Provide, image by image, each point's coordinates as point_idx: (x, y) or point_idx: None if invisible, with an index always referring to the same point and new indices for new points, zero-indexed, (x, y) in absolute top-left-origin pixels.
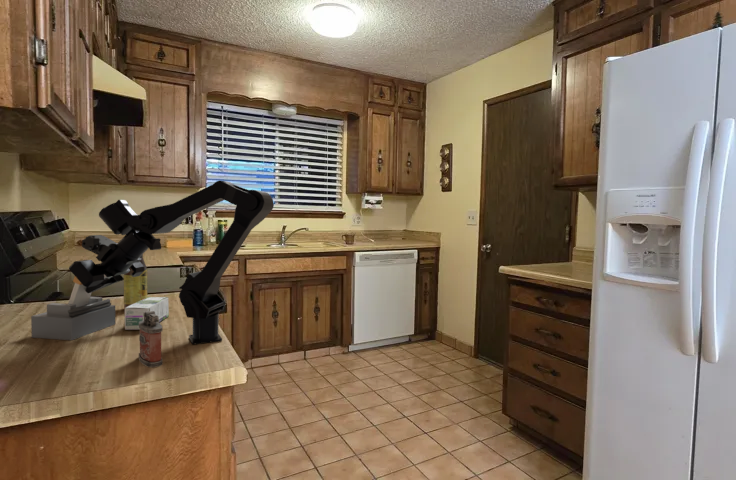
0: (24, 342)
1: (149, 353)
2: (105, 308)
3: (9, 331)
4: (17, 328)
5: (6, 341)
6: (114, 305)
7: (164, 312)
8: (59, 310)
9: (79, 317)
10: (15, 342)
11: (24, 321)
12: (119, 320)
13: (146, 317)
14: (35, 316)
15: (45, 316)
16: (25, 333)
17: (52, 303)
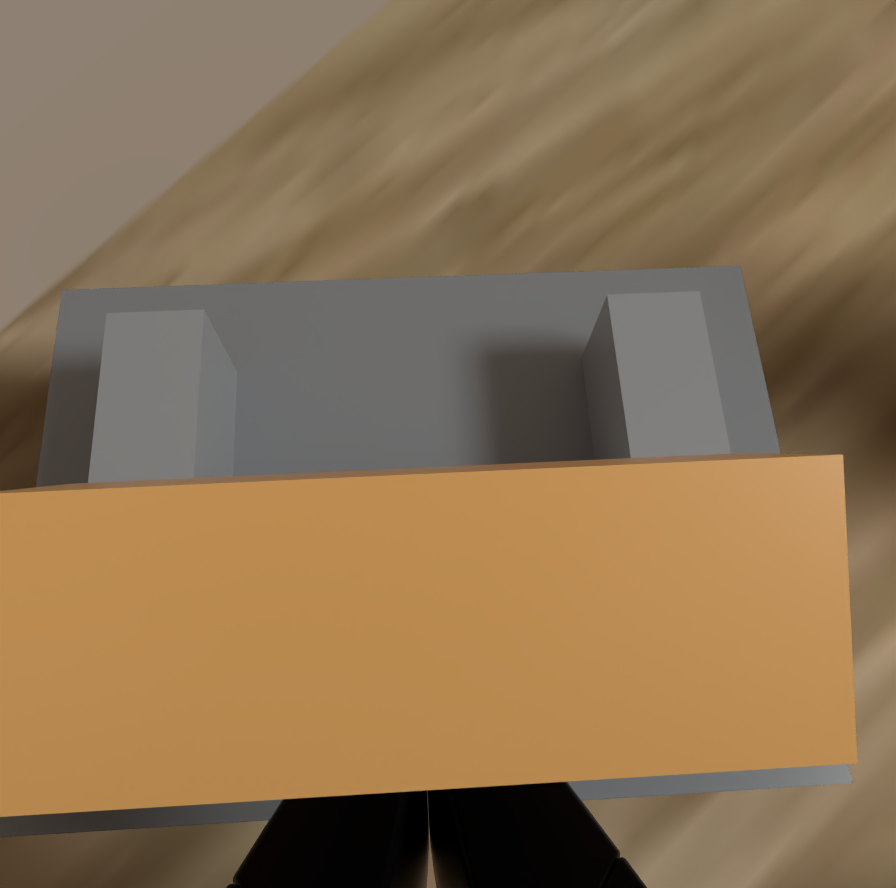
0: (10, 454)
1: None
2: (645, 794)
3: (272, 120)
4: (354, 104)
5: (25, 309)
6: (842, 775)
7: None
8: None
9: (140, 827)
10: (5, 390)
11: (529, 3)
12: (877, 687)
13: None
14: (56, 336)
15: (65, 434)
16: (246, 256)
17: (178, 327)
